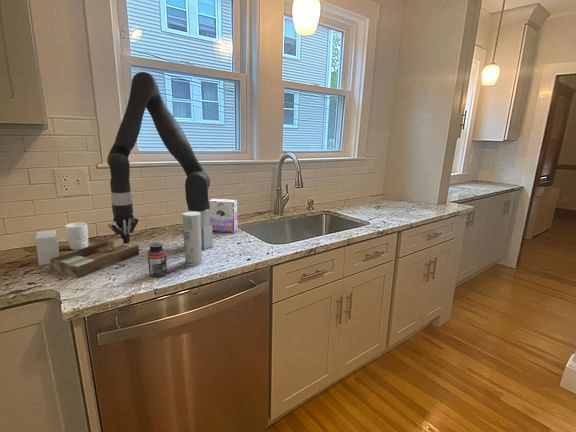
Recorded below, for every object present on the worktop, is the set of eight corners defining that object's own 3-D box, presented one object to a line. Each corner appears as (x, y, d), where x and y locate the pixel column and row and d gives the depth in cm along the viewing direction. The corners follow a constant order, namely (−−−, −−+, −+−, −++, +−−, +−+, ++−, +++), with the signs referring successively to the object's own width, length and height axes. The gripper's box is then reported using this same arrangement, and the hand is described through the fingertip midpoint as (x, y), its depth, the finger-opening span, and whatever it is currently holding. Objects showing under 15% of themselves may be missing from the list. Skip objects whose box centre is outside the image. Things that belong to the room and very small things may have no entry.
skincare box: (60, 262, 120) (56, 236, 118) (38, 266, 117) (34, 239, 114) (60, 253, 128) (56, 229, 126) (40, 257, 125) (35, 231, 122)
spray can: (205, 263, 124) (203, 213, 119) (190, 267, 119) (187, 216, 114) (197, 258, 128) (194, 210, 123) (182, 262, 124) (179, 213, 119)
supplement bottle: (152, 270, 116) (150, 241, 113) (169, 270, 116) (167, 241, 113) (146, 278, 110) (144, 247, 107) (164, 277, 110) (162, 247, 108)
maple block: (124, 248, 130) (123, 239, 129) (115, 251, 126) (114, 242, 125) (117, 246, 131) (116, 237, 130) (108, 249, 128) (107, 240, 127)
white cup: (94, 245, 139) (91, 223, 136) (77, 251, 132) (74, 228, 129) (81, 242, 141) (78, 221, 139) (63, 248, 134) (60, 226, 132)
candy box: (237, 230, 167) (237, 199, 163) (234, 233, 162) (233, 201, 158) (213, 228, 170) (212, 197, 165) (208, 231, 164) (207, 200, 160)
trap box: (139, 254, 130) (138, 245, 129) (78, 278, 108) (76, 267, 107) (114, 248, 136) (113, 239, 135) (51, 269, 114) (50, 259, 113)
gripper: (113, 206, 121) (118, 249, 125) (142, 201, 133) (145, 240, 137) (100, 204, 124) (105, 246, 128) (129, 198, 136) (133, 237, 140)
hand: (126, 242), depth 133 cm, fingers closed
